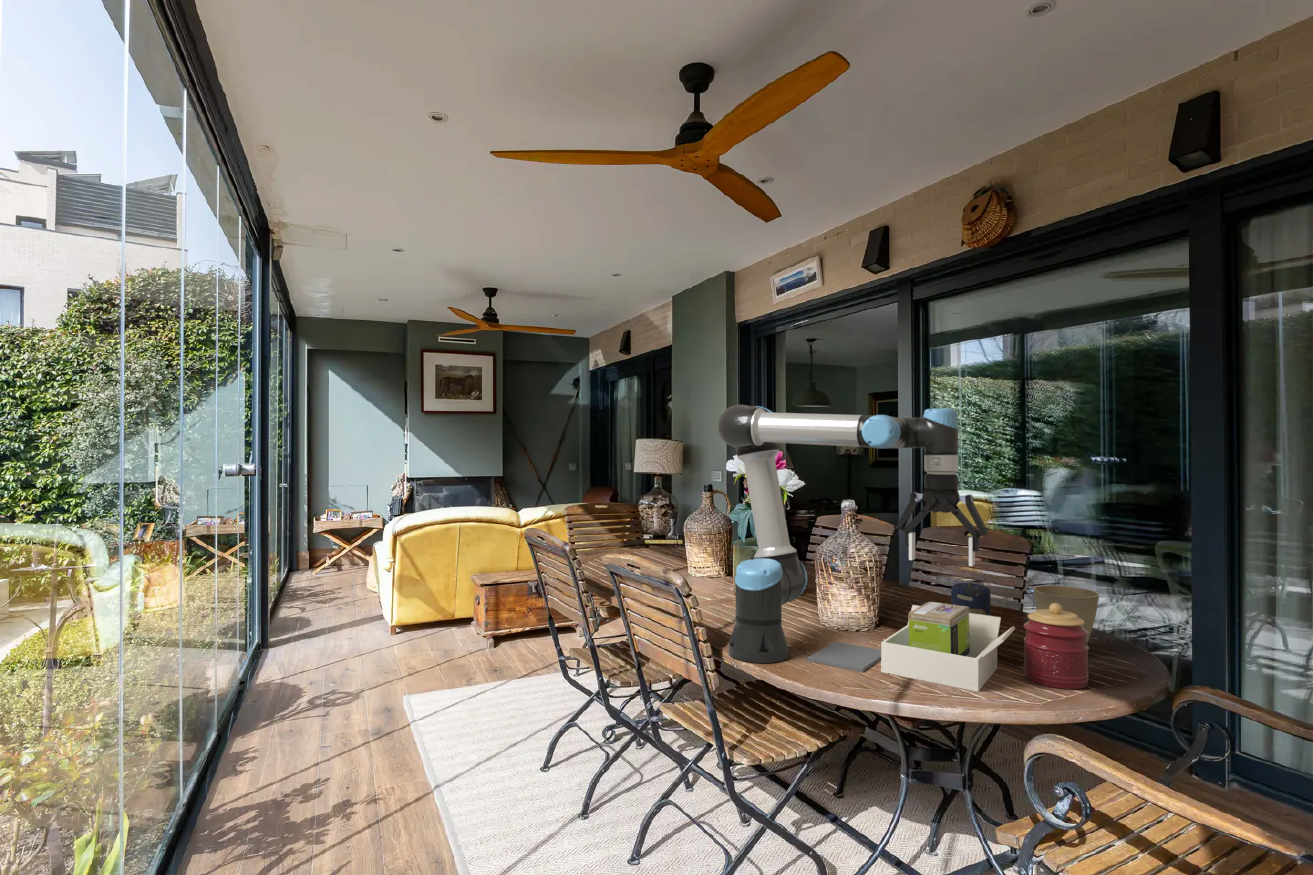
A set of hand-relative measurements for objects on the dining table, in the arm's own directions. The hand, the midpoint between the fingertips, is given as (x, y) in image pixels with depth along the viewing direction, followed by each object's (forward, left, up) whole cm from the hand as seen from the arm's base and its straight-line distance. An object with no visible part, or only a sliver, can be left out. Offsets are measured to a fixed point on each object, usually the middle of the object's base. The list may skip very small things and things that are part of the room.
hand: (941, 562), depth 166 cm
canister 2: (+23, +9, -26) cm, 36 cm away
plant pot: (+22, +36, -26) cm, 49 cm away
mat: (-21, -4, -26) cm, 34 cm away
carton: (+2, +2, -26) cm, 26 cm away
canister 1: (+2, +22, -26) cm, 34 cm away
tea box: (0, 0, -26) cm, 26 cm away
